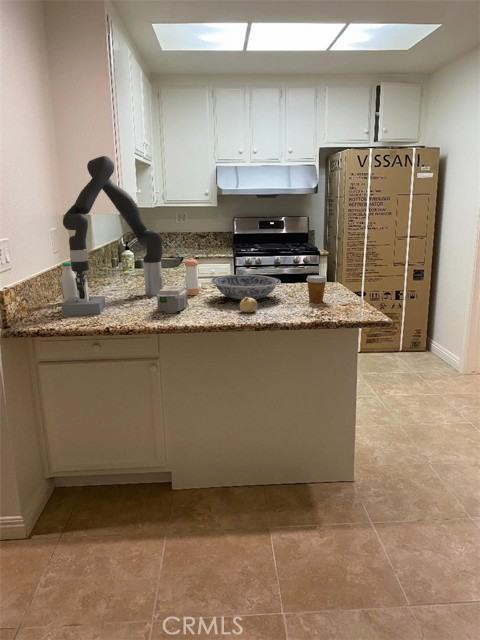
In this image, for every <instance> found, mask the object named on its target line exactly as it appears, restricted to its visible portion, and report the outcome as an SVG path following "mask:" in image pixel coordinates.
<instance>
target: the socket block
mask: <svg viewBox="0 0 480 640" xmlns="http://www.w3.org/2000/svg"><path fill="white" fill-rule="evenodd" d="M105 308H106V296H105V295H100V296H98V295H97V296H89V302H78V297H72V298H68V299H67V300H66V301H65V302H64V303H62V304H61V313H62V317H72V316H73V317H74V316H75V317H76V316H77V317H78V316H95V315H101V314H102V313H103V311H104V310H105Z"/></svg>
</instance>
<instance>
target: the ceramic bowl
mask: <svg viewBox="0 0 480 640" xmlns="http://www.w3.org/2000/svg"><path fill="white" fill-rule="evenodd" d="M210 282H211V283H212V284H214V285H215V286H216V288H217V289H218V291H219V292H220V294H222V295H224V296H225V297H227V298H229V299H234V300H241V301H242V300H243V299H244V298H245V297H248V298H253V299H255V300H259V299H263V298H266V297H267V296H268V295H270V294H271V293H272V292H274V289H276V287H277V286H279V285H280V284H281V283H282V281H281V280H280V279H279V278H277V277H272V276H266V275H257V274H231V275H230V274H226V275H220V276H216V277H213V278H212V279H211V280H210Z"/></svg>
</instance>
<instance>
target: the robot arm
mask: <svg viewBox="0 0 480 640" xmlns="http://www.w3.org/2000/svg"><path fill="white" fill-rule="evenodd" d="M86 168H87V169H86V170H87V171H88V173H89V175H90V177H91V179H90V180H89V181H88V183H87V184H86V185H85V186H84V187H83V188H82V190H81V191H80V193H79V194H78V196H77V198H76V200H75V202H74V204H73V205H72V206H70V208H69V209H67V211H66V212H65V214H64V216H63V219H62V225H63V227H64V228H65V229H66V230H68V231H75V233H74V235H71V236H70V237H69V238H68V245H69V259H70V261H69V262H71V270H72V271H73V272H75V273H76V274H75V275H76V278H75V280H76V285H77V290H78V291H79V296H80V299H85V292H84V290H85V289H84V285H85V278H87V279H88V275H87V273H86V271H89V270H90V264H89V254H88V248H87V241H86V240H87V235H88V234H87V233H88V229H89V221H88V218H87V216H85V215H88V214H89V213H90V212H91V210H92V209H93V206H94V204H95V202H96V199H97V198H98V196H99V194H100V193H101V191H103V192H104V194H106V196H107V197H108V199H109V200H110V201H111V203H112V204H113V205H114V208H115V209H116V210H117V212H118V213H119V214H120V215H121V217H122V218H123V219H124V221H125V222H126V224H127V225H128V226H129V228H130V229H131V230H132V232H133V234H134V236H135V238H136V239H137V241H138V243H139V245H140V246H141V247H143V248H144V249H146V255H144V256H143V258H142V259H143V261H142V263H143V275H144V277H143V278H144V289H145V290H144V292H145V296H149V297H152V296H153V297H154V296H156V297H157V295H158V294H159V291H160V290H161V289H163V288H164V282H163V272H162V270H163V269H162V257H163V239H162V238H163V237H162V235H161V234H160V232H158V231H156V230H149V228H148V227H147V226H146V225H145V223H144V222H143V220H142V217H141V213H140V209H139V206H138V205H137V203H136V201H135V200H134V199H133V197H132V196H131V194H129V192H127V191H126V190H124V189H123V188H121V187H120V186H118V185H117V184H115V183H114V182H113V181H112V179H111V177H112V176H113V174H114V172H115V164H114V161H113V160H112V159H111V157H109V156H106V155H102V156H99V157H95V158H92V159H91V160H88V162H87V165H86ZM82 282H83V283H82ZM80 285H81V287H80Z"/></svg>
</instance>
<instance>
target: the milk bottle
mask: <svg viewBox="0 0 480 640" xmlns="http://www.w3.org/2000/svg"><path fill="white" fill-rule="evenodd" d="M61 266H62V274H61V276H60V286H61V296H62V301H63V303H64V302H65V301H66V300H67V299H68V298H72V297H78V295H77V286H76V280H75V278H76V275H77V274H76V272H75V271H72V270H71V261H64V262H62V263H61ZM63 303H62V304H63Z"/></svg>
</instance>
